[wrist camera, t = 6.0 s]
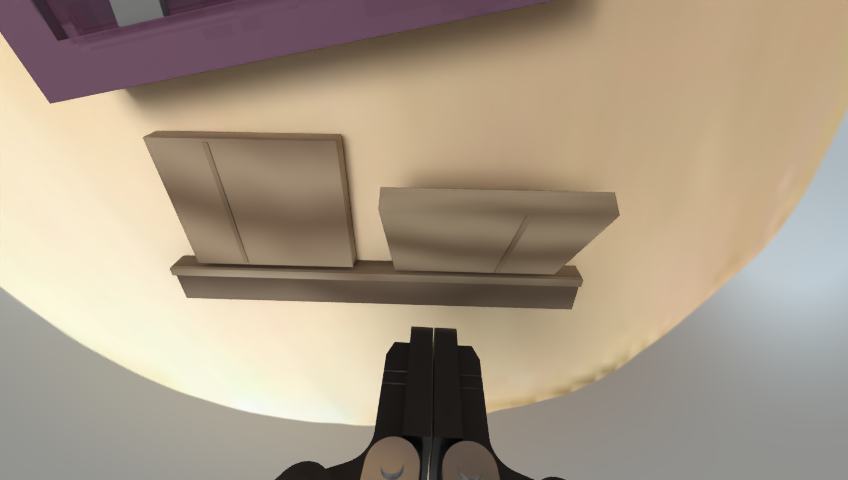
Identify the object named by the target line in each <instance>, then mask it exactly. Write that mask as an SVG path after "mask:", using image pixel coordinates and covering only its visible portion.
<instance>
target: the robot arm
mask: <svg viewBox="0 0 848 480" xmlns="http://www.w3.org/2000/svg"><path fill="white" fill-rule="evenodd" d="M429 454H430V460H429ZM429 462H430V463H429ZM428 464H429V480H534V479H531V478H529V477H527V476H524V475H522V474H520V473H517V472H515V471H513V470H511V469H510V468H508V467H507V466H506V465H504V464H503V463H502V462H501V461H500V460H499V458H498V457H497V456H496V454H495V453H494V451H493V449H492V447H491V444H490V439H489V432H488V424H487V416H486V408H485V399H484V391H483V383H482V378H481V367H480V359H479V358H478V356H477V354H476V353H475V351H474V349H473V348H472V346H458V345H457V330H456V329H449V328H435V329H434V340H433V328H429V327H412V328H411V339H410V343H403V342H394V344H393V345H392V347H391V348H390V350H389V351H388V353H387V354H386V360H385V367H384V373H383V380H382V386H381V393H380V399H379V406H378V412H377V419H376V425H375V432H374V436H373V439H372V441H371V443H370V445H369V446H368V448H367V449H366V450H365V451H364V452H363V453H362V454H361V455H360V456H358V457H357V458H355V459H353V460H351V461H349V462H346V463H343V464H340V465H337V466H333V467H330V468H327V469H325V468H324V467H323V466H322V465H320V464H319V463H316V462H311V461H304V462H300V463H297V464H294V465H292V466H291V467H289V468H288V469H286V470H285V471H284V472H283V473H282V474H281V475H280V476H279V477H277V478H276V479H275V480H427V473H428ZM542 480H565V479H562V478H557V477H548V478H545V479H542Z"/></svg>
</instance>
